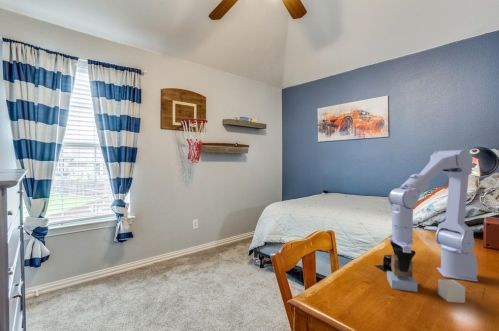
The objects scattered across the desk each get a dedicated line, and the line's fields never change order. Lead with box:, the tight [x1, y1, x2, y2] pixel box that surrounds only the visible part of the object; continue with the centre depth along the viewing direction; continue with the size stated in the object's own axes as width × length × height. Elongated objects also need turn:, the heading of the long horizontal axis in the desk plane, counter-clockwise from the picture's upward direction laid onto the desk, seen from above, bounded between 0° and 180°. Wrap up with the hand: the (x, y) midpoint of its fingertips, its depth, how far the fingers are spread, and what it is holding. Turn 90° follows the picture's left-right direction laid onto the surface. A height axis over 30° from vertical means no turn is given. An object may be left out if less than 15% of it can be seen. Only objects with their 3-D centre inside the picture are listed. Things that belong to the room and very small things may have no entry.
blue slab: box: [386, 271, 419, 293], centre depth 83 cm, size 7×7×3 cm
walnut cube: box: [390, 253, 414, 278], centre depth 83 cm, size 5×5×5 cm
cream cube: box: [437, 278, 466, 304], centre depth 75 cm, size 4×4×4 cm
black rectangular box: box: [373, 254, 393, 273], centre depth 97 cm, size 13×8×5 cm, turn 101°
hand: (401, 267), depth 83 cm, fingers closed on walnut cube, 5 cm apart
